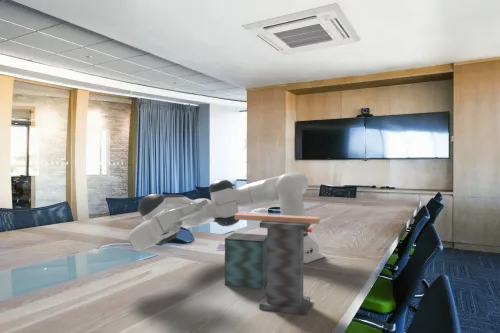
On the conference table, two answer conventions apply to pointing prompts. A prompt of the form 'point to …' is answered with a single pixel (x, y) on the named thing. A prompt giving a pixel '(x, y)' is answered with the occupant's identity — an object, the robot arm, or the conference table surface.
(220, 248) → the mobile phone
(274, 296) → the tall pedestal
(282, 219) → the slat
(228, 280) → the low pedestal
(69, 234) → the conference table surface
